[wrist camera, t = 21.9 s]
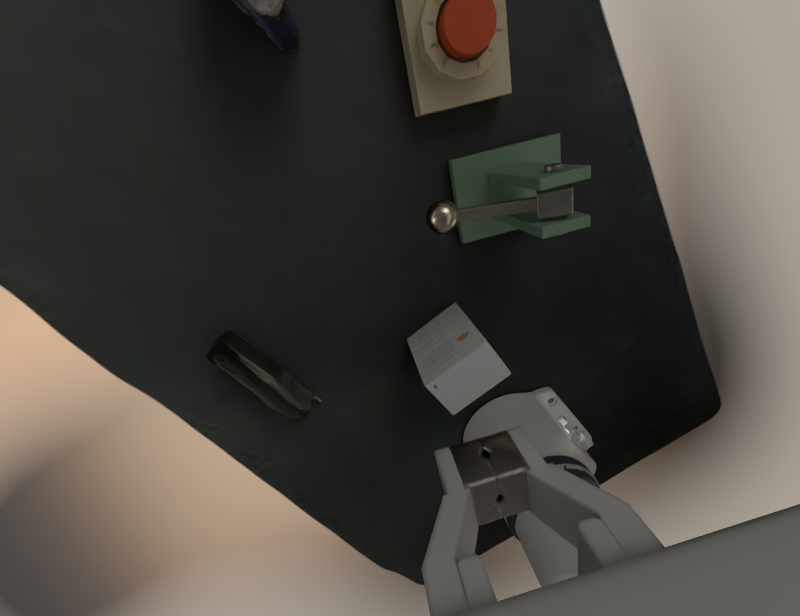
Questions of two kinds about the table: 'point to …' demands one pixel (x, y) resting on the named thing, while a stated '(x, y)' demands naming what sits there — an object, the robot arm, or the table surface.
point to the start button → (467, 27)
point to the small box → (455, 359)
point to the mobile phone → (261, 375)
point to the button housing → (450, 60)
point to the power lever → (501, 208)
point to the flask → (273, 20)
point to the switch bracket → (515, 187)
